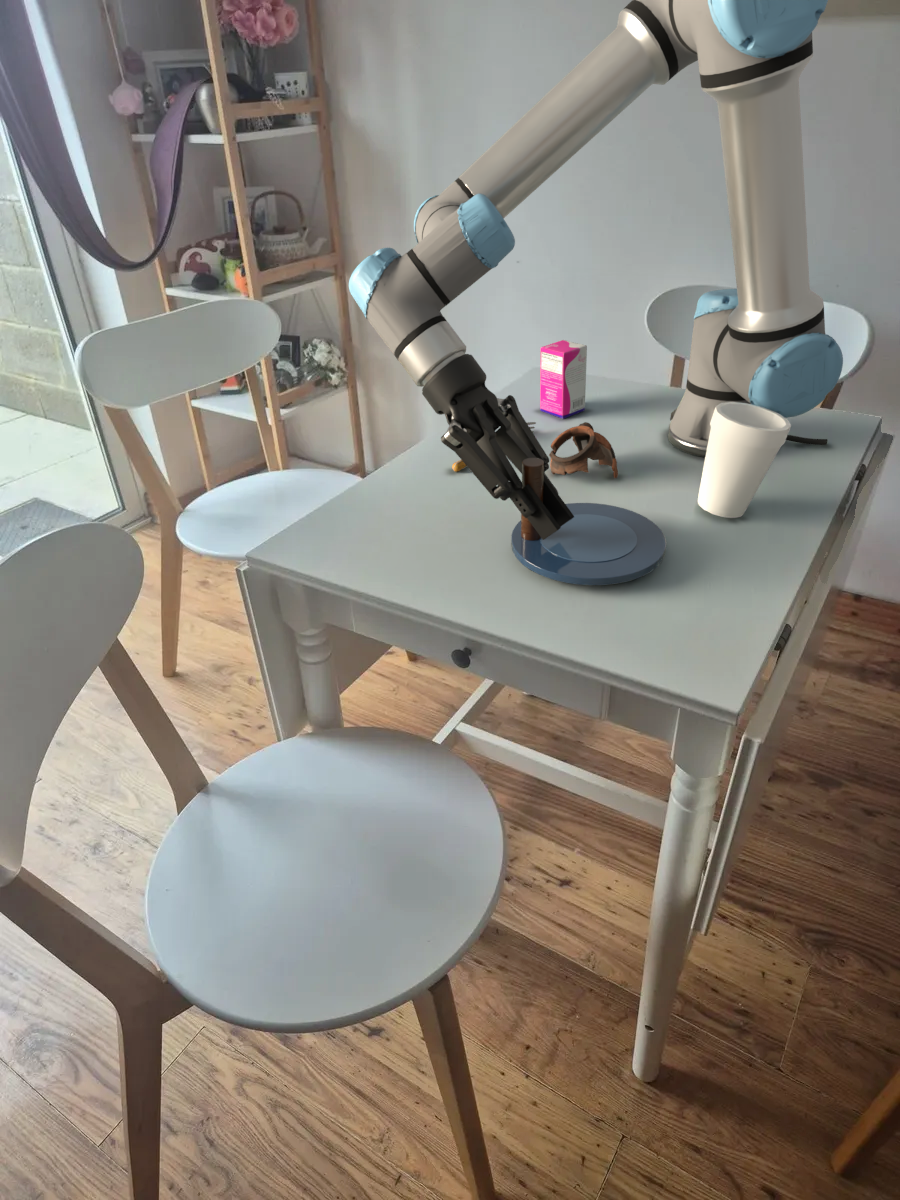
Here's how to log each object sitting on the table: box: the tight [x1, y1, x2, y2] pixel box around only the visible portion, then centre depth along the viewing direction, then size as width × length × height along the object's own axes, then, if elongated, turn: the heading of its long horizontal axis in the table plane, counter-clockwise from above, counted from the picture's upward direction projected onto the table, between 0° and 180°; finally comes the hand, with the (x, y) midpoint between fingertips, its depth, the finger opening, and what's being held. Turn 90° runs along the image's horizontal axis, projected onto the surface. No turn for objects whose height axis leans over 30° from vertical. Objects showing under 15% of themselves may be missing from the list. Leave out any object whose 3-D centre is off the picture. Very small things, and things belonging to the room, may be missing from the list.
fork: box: [451, 421, 537, 473], centre depth 129 cm, size 2×2×20 cm
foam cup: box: [697, 402, 792, 519], centre depth 107 cm, size 10×9×13 cm
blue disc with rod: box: [510, 458, 667, 586], centre depth 99 cm, size 19×19×11 cm
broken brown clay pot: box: [548, 421, 619, 479], centre depth 121 cm, size 12×10×8 cm
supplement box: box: [539, 339, 588, 420], centre depth 140 cm, size 6×6×12 cm
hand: (558, 528), depth 99 cm, fingers closed on blue disc with rod, 3 cm apart
